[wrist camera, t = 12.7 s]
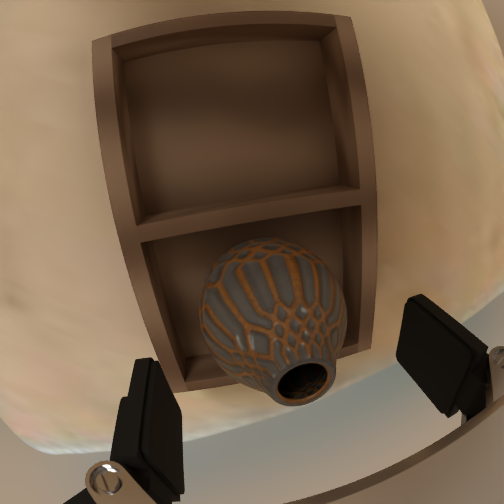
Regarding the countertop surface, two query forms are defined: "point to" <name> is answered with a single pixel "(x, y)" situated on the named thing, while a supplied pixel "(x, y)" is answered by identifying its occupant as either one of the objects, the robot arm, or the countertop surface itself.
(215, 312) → the vase
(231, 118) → the divided wooden tray
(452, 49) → the countertop surface
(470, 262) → the countertop surface
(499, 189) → the countertop surface
